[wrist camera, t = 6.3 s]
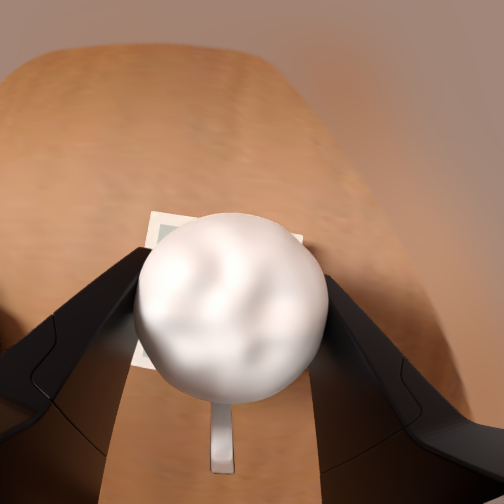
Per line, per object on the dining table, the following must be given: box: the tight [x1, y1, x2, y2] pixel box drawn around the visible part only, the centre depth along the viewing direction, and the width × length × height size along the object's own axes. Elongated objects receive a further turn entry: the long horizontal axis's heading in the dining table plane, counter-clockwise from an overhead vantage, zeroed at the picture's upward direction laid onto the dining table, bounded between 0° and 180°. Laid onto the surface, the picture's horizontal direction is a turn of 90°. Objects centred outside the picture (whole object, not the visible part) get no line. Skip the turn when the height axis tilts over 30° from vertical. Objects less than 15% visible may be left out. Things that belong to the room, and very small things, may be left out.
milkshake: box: [133, 213, 328, 475], centre depth 10 cm, size 4×5×10 cm
